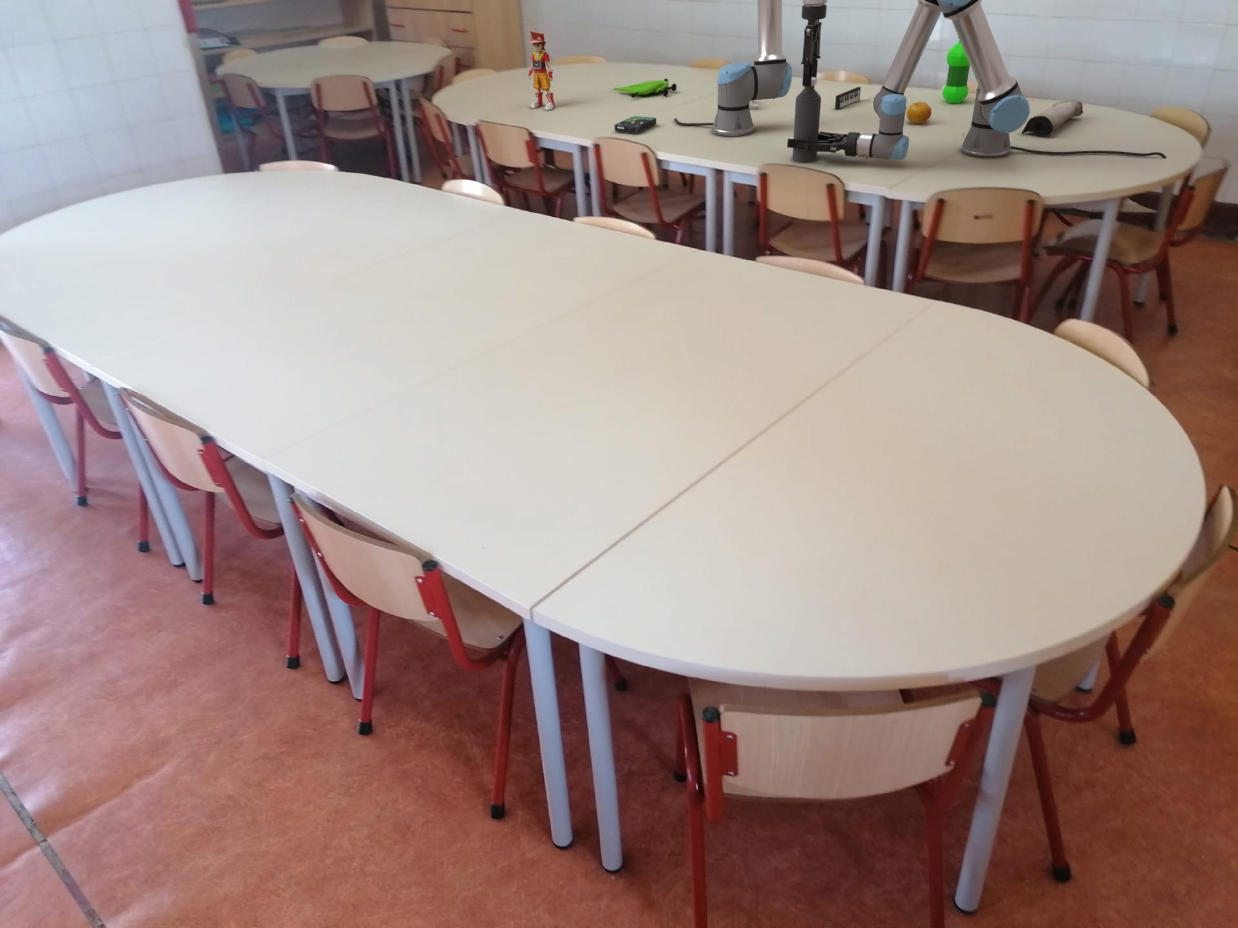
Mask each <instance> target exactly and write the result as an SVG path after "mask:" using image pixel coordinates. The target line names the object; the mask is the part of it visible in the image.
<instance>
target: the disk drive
mask: <svg viewBox="0 0 1238 928" xmlns="http://www.w3.org/2000/svg"><path fill="white" fill-rule="evenodd" d="M656 125H657V117H652V116H651V117H650V116H637V115H633V116H630V117H628V118H626V119H624V120H621V121H619V122H618V123H615V124H614V132H617V133H618V132H619V133H626V134H635V135H637V134H639V133H642V132H644V131H646V130H647V129H651V128H653V127H654V126H656Z"/></svg>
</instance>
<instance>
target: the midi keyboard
mask: <svg viewBox="0 0 1238 928" xmlns="http://www.w3.org/2000/svg"><path fill="white" fill-rule="evenodd" d="M861 88H862V87H861V86H857V87H854V88H852V89H849V90H847V91H844V92H842V93H839V94H837V95H835V103H834V109H835V110H839V109H841V108H843V107H846V106H848V105H850V104H853V103H855V102H857V101H860V100H861V91H862V90H861Z"/></svg>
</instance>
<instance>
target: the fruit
mask: <svg viewBox="0 0 1238 928" xmlns="http://www.w3.org/2000/svg"><path fill="white" fill-rule="evenodd" d="M931 116H932V108H931V106H930V105H929V104H928V103H926V102H924V101H919V102H914V103H912V104H910V106H908V108H907V109H906V119H907V120H908V121H909V122H910V123H911V124H924V123H926V122H928V121H929V119H930V117H931Z"/></svg>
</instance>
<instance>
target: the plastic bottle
mask: <svg viewBox="0 0 1238 928" xmlns="http://www.w3.org/2000/svg"><path fill="white" fill-rule="evenodd" d="M957 39H958V42H957V43H956V44H954V45H953V46H952V47H951V48H950V49H949V50H948V52H947V54H946V63H947V64H948V69H947V70H948V71H947V76H946V77H947V78H946V84H945V85H944V87H943V90H942V97H943V99H944V100H945V101H946V102H947V103H948V104H960V103H961V102H963V101H964V100H966V98H967V96H968V95H969V85H968V79H969V73H970V68H971V66H970V63H969V61H968V59H967V56H966V54H965V51H964V49H963V46H962V44H961V42H960V39H959V37H958V36H957Z"/></svg>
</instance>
